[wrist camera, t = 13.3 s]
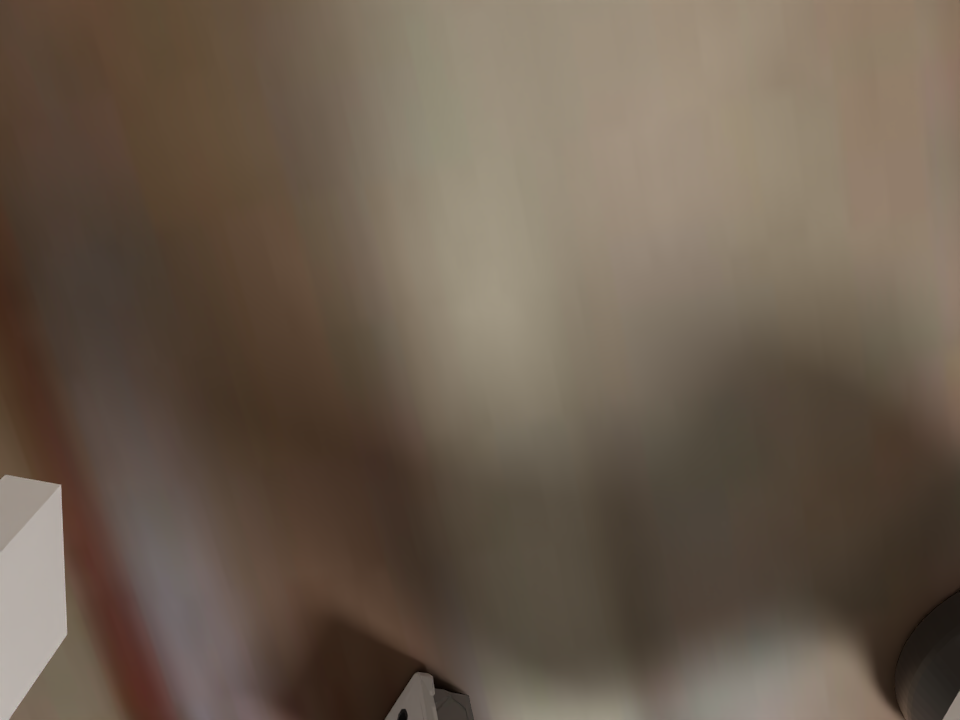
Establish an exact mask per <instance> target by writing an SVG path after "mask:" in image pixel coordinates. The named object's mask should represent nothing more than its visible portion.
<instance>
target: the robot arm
mask: <svg viewBox="0 0 960 720" xmlns="http://www.w3.org/2000/svg"><path fill="white" fill-rule="evenodd" d="M66 635H67V618H66V594H65V570H64V546H63V522H62V498H61V485H60V484H54V483H49V482H43V481H37V480H32V479H26V478H21V477H15V476H10V475H5V476H4V477H3V478H1V479H0V720H9V719H10V717H11V716H12V714H13V713H14V711H15V710H16V708H17V707H18V705H19V704H20V702H21V701H22V700H23V698H24V697H25V695H26V694H27V692H28V691H29V689H30V688H31V686H32V685H33V683H34V682H35V681H36V679H37V678H38V676H39V675H40V673H41V672H42V670H43V669H44V667H45V666H46V664H47V663H48V662H49V660H50V659H51V657H52V656H53V654H54V653H55V651H56V650H57V648H58V647H59V646H60V644H61V643H62V641H63V640H64V638H65V637H66ZM895 693H896V698H897V702H898V705H899V707H900V710H901V712H902V714H903V716H904V718H905V720H960V591H959V592H958V593H956V594H954V595H953V596H951V597H950V598H948V599H947V600H946V601H944V602H943V603H941V604H940V605H939V606H938V607H937V608H935V609H934V610H933V611H932V612H931V613H930V614H929V615H928V616H927V617H926V618H925V619H924V620H923V621H922V622H921V623H920V624H919V625H918V626H917V628H916V629H915V630H914V631H913V633H912V634H911V636H910V637H909V639H908V640H907V642H906V644H905V646H904V648H903V650H902V652H901V654H900V657H899V660H898V663H897V667H896V673H895Z"/></svg>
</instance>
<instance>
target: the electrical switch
mask: <svg viewBox="0 0 960 720" xmlns="http://www.w3.org/2000/svg"><path fill="white" fill-rule="evenodd" d="M385 720H474V718H473V713H472V709H471V704H470V700H469V696H467V695H463V694H457V693H451V692H448V691H446V690H444V689H435V688H434V682H433V676H431V675H430V674H429V673H422V672H417V673H415V674H414V675H413V677H412V678H411V680H410V681H409V683H408V684H407V686H406V687H405V689H404V690H403V692H402V694H401V695H400V697H399V698H398V700H397V701H396V703H395V704H394V706H393V707H392V709H391V711H390V712H389V714H388V715H387V717H386V718H385Z"/></svg>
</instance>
